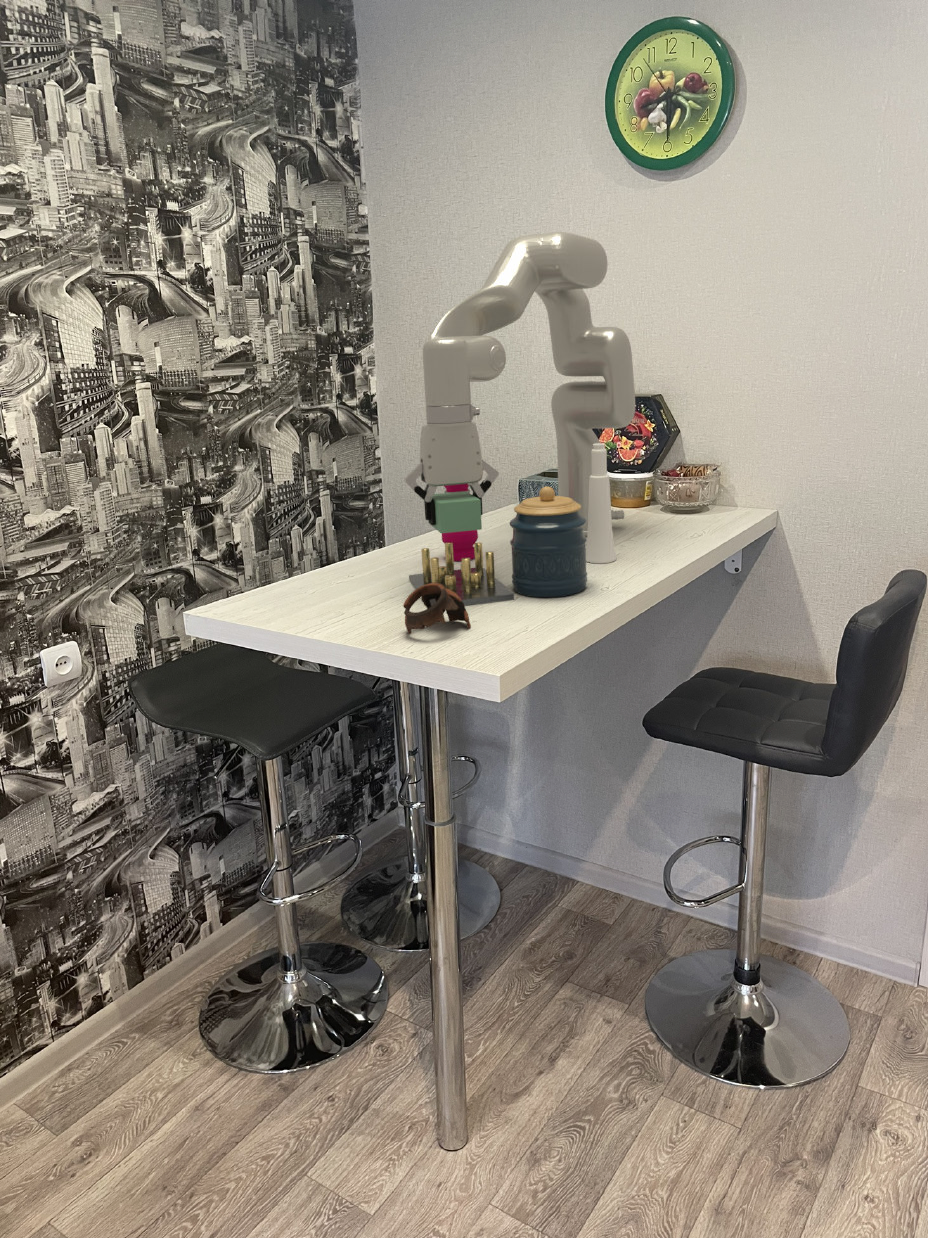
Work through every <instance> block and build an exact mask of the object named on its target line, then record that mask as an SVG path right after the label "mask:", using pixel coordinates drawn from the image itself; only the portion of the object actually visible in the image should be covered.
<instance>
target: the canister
mask: <svg viewBox="0 0 928 1238" xmlns="http://www.w3.org/2000/svg"><path fill="white" fill-rule="evenodd" d="M538 494H539V495H538V496H534V497H530V498H526V499H523V500H522V501H521V502H520V503H519V504H517V505H516V506H514V508H513V510H514V513H516V515H515V517H514V518H512V519H511V520H510V521H509V526H510V527H511V528H512V539H511V540H510V542H509V543H510V545H511V561H512V562H511V566H512V569H511V570H512V574H511V583H512V585H513V590H514V591H515V592H516V593H518V594H520V595H524V596H528V597H534V598H556V597H557V598H559V597H565V596H571V595H575V594H578V593H580V592H582V591H583V590H585V589H586V587H587V582H588V572H587V562H586V544H587V536H584V531H583V526H584V524H585V523H586V518H585V517H583V516H582V515H580V514H579V511H578V510H580V509H581V505H580V504H578V503H576V502H575V501H573V500H572V499H571V498H569V497H563V496H558V495H556V492H555V489H554V488H553V487H552V486H543V487H542V488H540V490H539V493H538Z"/></svg>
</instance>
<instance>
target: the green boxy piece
mask: <svg viewBox="0 0 928 1238" xmlns="http://www.w3.org/2000/svg"><path fill="white" fill-rule="evenodd" d="M433 502H435V514H436V524H435V525H431V524H430V523H429V520H427V521H428V524H429V525H430V526H432V527H433V528H434V529H435V530H436V531H438V533H440V534H442V533H450V532H461V531H471V530H477V531H480V530H482V527H483V526H482V515H481V500H480V499H478V498H477V497H475V496H473V494H471V493H470V492H469V493H468V492H466V491H463V492H451V493H445V492H443V493H442V492H441V493H434V496H433Z"/></svg>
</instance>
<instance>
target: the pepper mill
mask: <svg viewBox="0 0 928 1238" xmlns="http://www.w3.org/2000/svg"><path fill="white" fill-rule="evenodd" d="M443 487H444V488H445V490H444V493H451V492H463V491H466V492H468V493H470V492H471V489H469V488H470V486H469V485H468V484H459V485H447V486H443ZM478 539H479V533H478V530H471V531H461V532H450V533H441V541H442V543H443V544H444V545H445V543H449V542H451V543H453V559H454V562H462V558H470V561H471V560H475V550H474V543H477V541H478ZM444 555H445V554H444ZM444 558H445V559H446V555H445V557H444Z"/></svg>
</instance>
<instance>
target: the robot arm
mask: <svg viewBox="0 0 928 1238" xmlns="http://www.w3.org/2000/svg"><path fill="white" fill-rule="evenodd" d="M608 265H609V264H608V256H607V253H606V251H605V248H604V247H603V245H602V244H601V243H600V242H599V241H597V240H596V239H594V238H590V237H587V236H586V237H585V236H582V235H579V234H574V233H571V232H566V231H565V232H564V231H563V232H562V231H554V232H547V233H546V232H545V233H537V234H526V235H522V236H521V235H520V236H518V237H515V238H513V239H511V240H510V241H509V242H507V244H506V245H505V246H504V248H503V250H502V252H501V253H500V254H499V257H498V258H497V261H496V262H495V264H494V265H493V267H492V270H491V271H490V272H489V275H488V276H487V278H486V280H485V282H484V284H483V285H482V287H481V288H480V289H479V290H477V291H475V292H474V293H472V294H471V295H469V296H468V297H466V298H465V299H463V300H462V301H461V302H460V303H458V304H457V305H455V306H453V308H452V307H451V309H450V310H448V311H447V312H446V313H445V314H444V315H443V316H442V317H441V318H440V320H438V322H437V323H436V325H435V326H434V328H433V330H432V332H431V334H430V335H429V338H428V340H427V341H425V342H424V344H423V347H422V364H423V381H424V383H423V384H424V397H425V399H424V400H425V401H424V402H425V414H426V415H425V416H426V417H425V418H426V420H425V421H426V424H424V425H423V424H422V426H421V429H420V440H419V443H420V444H419V464H417V466H416V467H415V468H414V469H413V470H412V471H410V473H408V475H407V476H406V477H405V478H404V482H405V483H406V485H408V486H409V488H410V489H412V490H413V492H414V493H415V494H416V495H418V496H419V497H420V499H422V500H423V502H424V516H425V517H424V518H425V520H426V521H428V520H429V523H430V524H431V525H430V524H429V523H428V524H429V525H430V526H432V525H435V524H436V514H435V502H433V496H434V494H436V491H437V489H438V487H444V486H447V485H459V484H468V485H469V488H470V491H472V495H473V496H475V497H477V498H478V499H480V500H481V516H483V513H484V512H483V498H484V496H485V494H486V493H487V491H489V489H490V488H491V487H492V484H493V483H494V482H495V480H497V478H498V476H499V475H500V474H499V471H498V470H496V469H495V468H494V467H492V465H490V464H488V462H486V461H485V460H484V459H482V449H481V443H480V437H479V431H478V428H477V425H476V424H477V423H476V422H474V421H473V420H474V417H476V416H480V415H481V409H480V407H479V406H477V407H475V406H474V405H473V404H472V398H471V397H472V396H471V394H472V393H471V383H477V382H478V383H480V382H481V383H482V382H489V381H492V380H495V379H496V378H497V377H499V376H500V375H501V374H502V373H503V371H504V369H505V367H506V361H507V355H506V351H505V348H504V346H503V344H502V343H501V342H500V341H499V340H498V339H497V338H495V337H493V336H490V335H486V334H489V333H492V332H495V331H498V330H500V329H502V328H505V327H507V326H510V325H511V324H513V323H516V321H518V320H519V319H520V318H521V317H522V316H523V314H524V312H525V310H526V308H527V306H528V305H529V303H530V300H531V299H532V297H533V295H534V294H536V295H538V297H539V298H540V299H541V301H542V303H543V304H544V306H545V309H546V312H547V317H548V318H547V319H548V325H549V333H550V343H551V351H552V359H553V363H554V367H555V370H556V372H558V374H559V375H562V376H565V377H582V378H584V377H602V378H603V379H604V381H601V380H599V381H594V380H592V381H591V380H589V381H588V380H587V381H570V382H565V383H563V384H560V385H559V386H558V387H557V388H556V389H555V390H554V391H553V393H552V396H551V399H550V400H551V404H550V405H551V406H550V407H551V408H550V409H551V412H552V418H553V419H552V420H553V423H554V430H555V435H556V451H557V455H556V456H557V486H558V487H557V489H558V490H557V493H558V495H557V496H563V497H569V498H571V499H572V500H573V501H575V502H576V503H578V504H580V505H581V509H580V510H578V511H579V514H580V515H582V516H583V517H585V518H586V523H585V524H584V526H583V531H584V536H585V537H587V531H588V505H589V479H590V476H591V475H592V454H591V451H592V449H594V447H593V444H595V443H601V442H600V439H599V438H598V436H597V435H596V433H595V432H594V431H593V429H622V428H625V427H627V426H629V425H630V424H631V423H632V421H633V419H634V417H635V414H636V393H635V379H634V367H633V354H632V353H633V352H632V346H631V341H630V339H629V337H628V335H627V333H626V332H625V330H623V329H622V328H621V327H616V326H601V327H600V326H599V327H595V326H594V324H593V321H592V313H591V305H590V300H589V298H588V296H587V294H586V292H585V291H584V289H586V290H587V289H593V288H596V287H598V286H599V285H600V284H602V282H603V281H604V279H605V277H606V275H607V271H608ZM472 421H473V422H472ZM483 471H484V472H486V477H484V480H482V479H483ZM418 478H420V480H421V481H422V482H423V483H425V484H426V485H425V487H424V489H423V488H422V487H421V486H420V485H419V484H418V483H417V480H418ZM481 480H482V481H481ZM480 481H481V483H480ZM611 518H612V521H613V520H623V519H625V512H624V510H622V509H620V510H615V511H614V510H613V509H611Z"/></svg>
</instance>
